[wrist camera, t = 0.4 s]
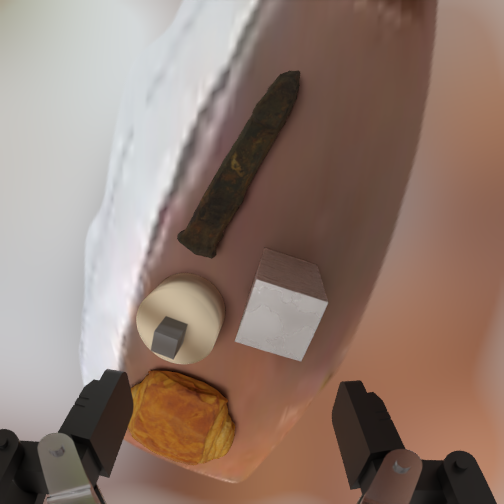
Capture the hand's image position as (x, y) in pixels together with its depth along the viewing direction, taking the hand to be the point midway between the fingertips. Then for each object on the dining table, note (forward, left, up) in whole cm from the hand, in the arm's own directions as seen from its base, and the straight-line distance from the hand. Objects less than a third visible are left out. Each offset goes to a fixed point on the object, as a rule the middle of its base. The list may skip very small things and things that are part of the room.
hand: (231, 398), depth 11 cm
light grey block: (0, +3, -21) cm, 21 cm away
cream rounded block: (+10, 0, -21) cm, 24 cm away
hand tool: (-4, -9, -22) cm, 23 cm away
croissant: (+22, +11, -21) cm, 32 cm away
